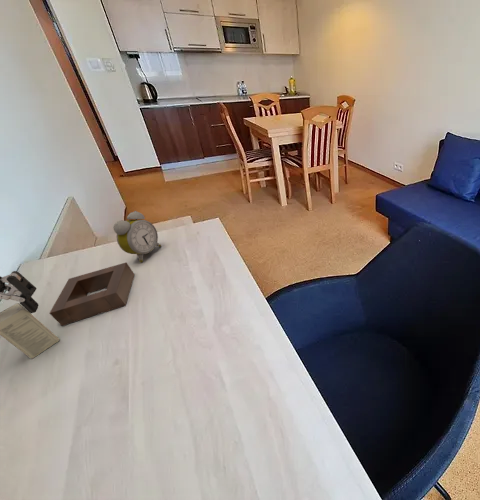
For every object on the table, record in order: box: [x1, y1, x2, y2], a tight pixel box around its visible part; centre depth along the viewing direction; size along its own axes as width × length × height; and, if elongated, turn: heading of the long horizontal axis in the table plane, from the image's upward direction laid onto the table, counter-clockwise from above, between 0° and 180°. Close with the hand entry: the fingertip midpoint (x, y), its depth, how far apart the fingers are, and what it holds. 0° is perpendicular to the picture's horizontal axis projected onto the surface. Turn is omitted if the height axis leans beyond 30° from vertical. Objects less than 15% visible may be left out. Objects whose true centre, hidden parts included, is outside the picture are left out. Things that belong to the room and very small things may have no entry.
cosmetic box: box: [0, 302, 60, 360], centre depth 72 cm, size 6×4×12 cm
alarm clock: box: [112, 210, 162, 263], centre depth 102 cm, size 12×7×15 cm, turn 171°
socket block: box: [49, 262, 135, 327], centre depth 88 cm, size 16×16×5 cm
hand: (13, 317), depth 70 cm, fingers open, 8 cm apart
